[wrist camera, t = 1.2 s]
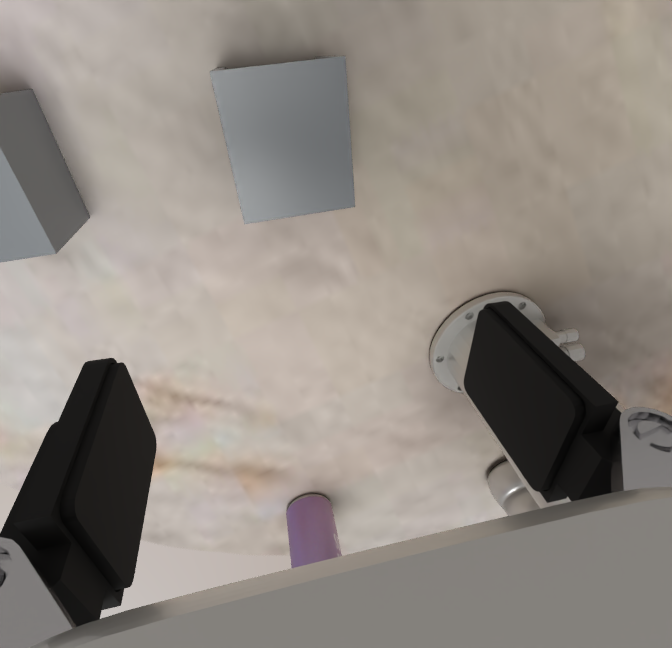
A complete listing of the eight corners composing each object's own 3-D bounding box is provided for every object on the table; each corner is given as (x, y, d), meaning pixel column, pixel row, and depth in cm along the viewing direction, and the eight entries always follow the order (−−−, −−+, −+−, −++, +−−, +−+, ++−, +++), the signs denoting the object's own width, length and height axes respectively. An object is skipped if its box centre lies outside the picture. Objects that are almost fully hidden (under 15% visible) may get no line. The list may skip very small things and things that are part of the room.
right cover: (324, 55, 26) (345, 56, 21) (335, 180, 31) (355, 206, 26) (216, 68, 26) (209, 71, 20) (243, 194, 30) (244, 224, 25)
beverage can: (280, 499, 51) (293, 639, 39) (325, 486, 52) (352, 620, 39) (292, 523, 55) (307, 658, 43) (334, 511, 55) (361, 641, 43)
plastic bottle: (530, 468, 59) (640, 627, 43) (487, 488, 60) (580, 652, 43) (521, 445, 55) (639, 609, 39) (476, 467, 56) (573, 637, 40)
